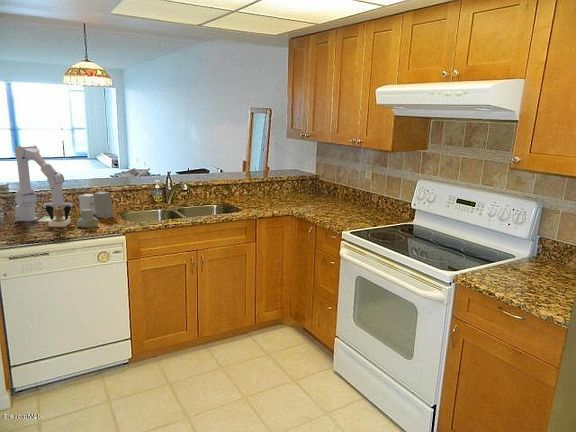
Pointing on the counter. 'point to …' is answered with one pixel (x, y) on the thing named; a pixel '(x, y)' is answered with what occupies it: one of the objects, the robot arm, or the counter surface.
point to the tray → (48, 219)
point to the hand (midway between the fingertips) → (59, 219)
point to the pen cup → (59, 223)
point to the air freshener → (87, 219)
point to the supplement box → (87, 202)
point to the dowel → (59, 215)
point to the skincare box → (103, 204)
